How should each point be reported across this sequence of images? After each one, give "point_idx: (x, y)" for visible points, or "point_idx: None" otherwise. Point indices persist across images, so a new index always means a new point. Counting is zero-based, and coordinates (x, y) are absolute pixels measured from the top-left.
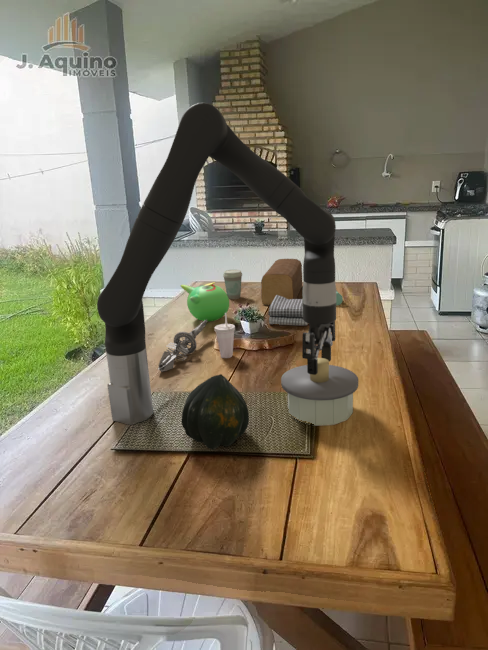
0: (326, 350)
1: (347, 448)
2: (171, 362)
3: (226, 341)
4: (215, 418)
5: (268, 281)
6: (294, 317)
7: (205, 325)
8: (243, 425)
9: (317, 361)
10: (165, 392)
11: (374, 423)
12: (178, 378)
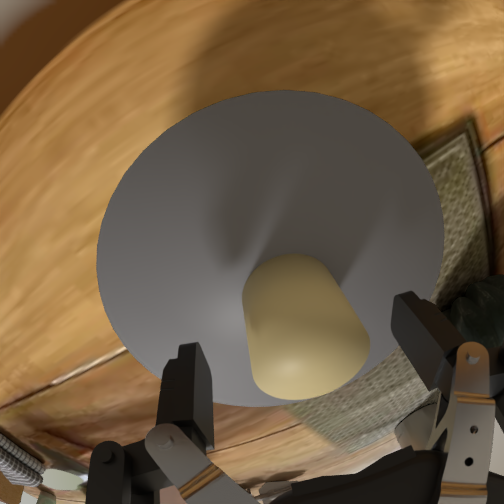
0: (203, 412)
1: (412, 57)
2: (267, 490)
3: (179, 499)
4: None
5: (11, 496)
6: (7, 452)
7: None
8: (496, 288)
9: (437, 339)
10: (344, 448)
11: (240, 35)
12: (293, 466)
